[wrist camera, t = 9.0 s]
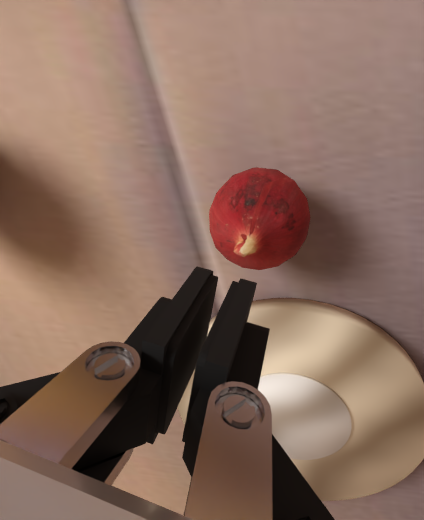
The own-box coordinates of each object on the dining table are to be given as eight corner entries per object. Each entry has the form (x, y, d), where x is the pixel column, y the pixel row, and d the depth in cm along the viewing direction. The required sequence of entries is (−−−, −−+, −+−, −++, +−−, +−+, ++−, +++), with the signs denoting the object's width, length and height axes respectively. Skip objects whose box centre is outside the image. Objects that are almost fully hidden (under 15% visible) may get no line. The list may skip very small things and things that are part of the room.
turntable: (493, 387, 23) (551, 477, 18) (330, 511, 33) (334, 596, 27) (240, 251, 24) (218, 295, 19) (152, 409, 34) (120, 471, 28)
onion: (227, 156, 22) (188, 179, 15) (316, 162, 21) (319, 191, 14) (223, 237, 25) (188, 289, 18) (303, 248, 24) (299, 308, 17)
